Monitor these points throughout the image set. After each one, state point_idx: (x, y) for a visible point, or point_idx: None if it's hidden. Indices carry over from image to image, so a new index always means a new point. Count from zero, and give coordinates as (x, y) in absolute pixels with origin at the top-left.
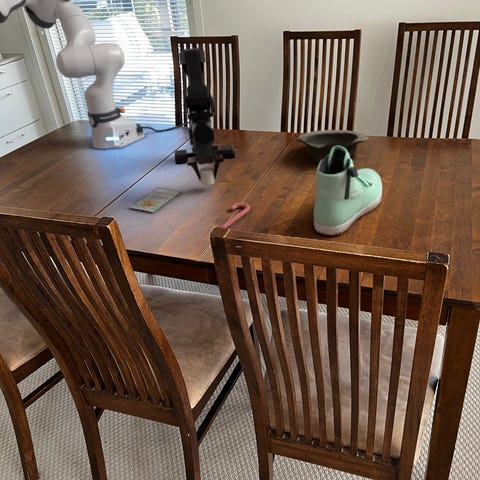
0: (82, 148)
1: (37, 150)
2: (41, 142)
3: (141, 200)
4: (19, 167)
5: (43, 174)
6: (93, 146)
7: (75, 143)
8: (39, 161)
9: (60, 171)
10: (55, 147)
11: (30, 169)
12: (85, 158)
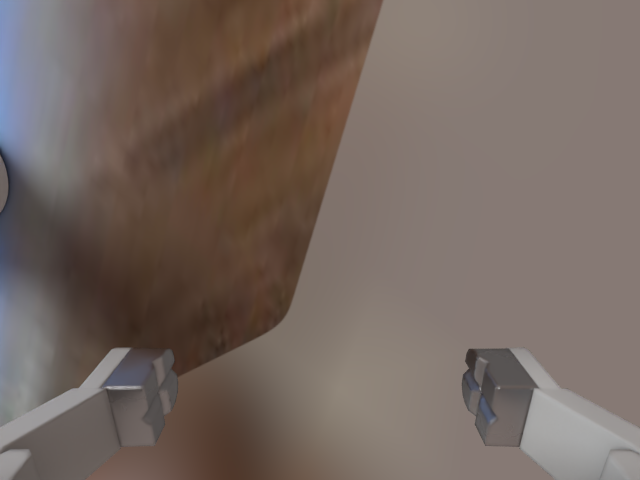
0: (47, 199)
1: (185, 301)
2: None
3: None
4: (274, 196)
5: (227, 54)
6: (3, 170)
7: (60, 266)
8: (205, 196)
9: (168, 29)
10: (128, 282)
11: (250, 145)
12: (56, 86)
